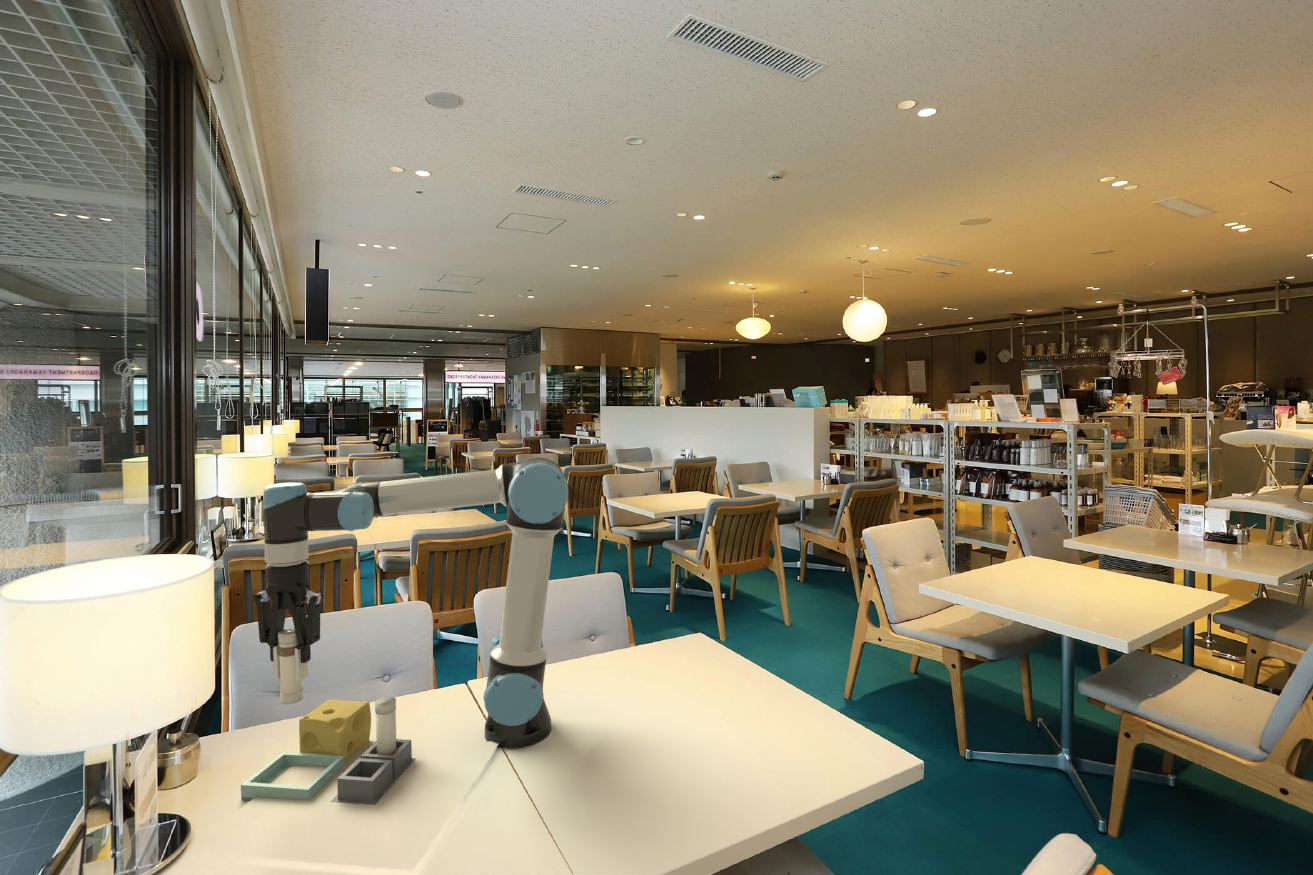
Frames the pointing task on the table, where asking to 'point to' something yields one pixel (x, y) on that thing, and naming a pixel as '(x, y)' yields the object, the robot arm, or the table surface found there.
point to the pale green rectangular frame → (276, 767)
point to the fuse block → (376, 761)
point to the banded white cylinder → (288, 668)
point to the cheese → (336, 728)
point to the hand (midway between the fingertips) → (291, 677)
